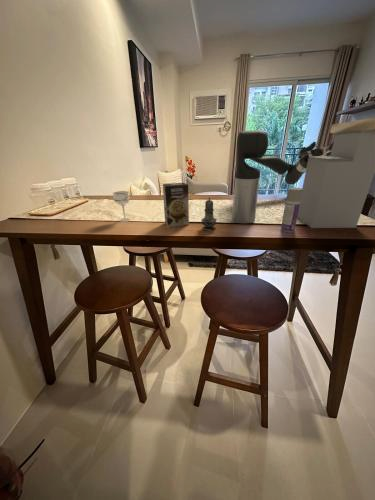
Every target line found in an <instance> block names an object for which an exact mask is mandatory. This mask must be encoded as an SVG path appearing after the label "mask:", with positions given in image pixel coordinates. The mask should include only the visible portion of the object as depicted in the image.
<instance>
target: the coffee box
mask: <svg viewBox="0 0 375 500" xmlns="http://www.w3.org/2000/svg"><path fill="white" fill-rule="evenodd" d="M162 193H163V196H162V197H163V209H164V212H163V213H164V223H165V225H166V227H168V228H173V227H182V226H189V225H190V209H189V205H190V204H189V184H188V183H185V182H172V183H170V182H169V183H162Z"/></svg>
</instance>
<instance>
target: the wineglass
mask: <svg viewBox="0 0 375 500" xmlns="http://www.w3.org/2000/svg"><path fill="white" fill-rule="evenodd" d="M112 195H113V201H114V203H116V204H117V205H119V206H121V207H122V212H123V218H121V220H120V219H119V220H120V221H119V222H122V223H123V222H129V221H131V220H130V219H131V218H130V217H126V212H125V205H126V204H128V203H129V201H130V198H131V197H130V194H129V191H127V190H123V191H122V190H120V191H115V192H112ZM129 218H130V219H129Z"/></svg>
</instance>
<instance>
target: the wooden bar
mask: <svg viewBox="0 0 375 500" xmlns="http://www.w3.org/2000/svg"><path fill="white" fill-rule="evenodd" d="M370 129H375V117H372V118H371V117H370V118H365V119H364V118H363V119H359V120H351V121H345V122H338V123H333V124H331V127H330V132H329V133H330V134H336V132H344V131H354V130H370Z"/></svg>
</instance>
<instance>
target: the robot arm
mask: <svg viewBox="0 0 375 500" xmlns="http://www.w3.org/2000/svg"><path fill="white" fill-rule="evenodd" d="M333 144H334V141H332V142H331V143H330V144H329V146H323V147H321V148H316V146H317V142H316V141H313V142H311V143H310V144H309V145H307V147H306V146H303V147H302V148H301V149H300V151H299V152H298V154H297V155H298V160H297V161H296V162H295V163H294V164H293V163H289V162H287V161H285V160H284V159H282V158H280V157H278V156H275V155H274V156H273V155H272V156H265V154H266V153H267V150H268V148H269V136H268V133H267V131H265V130H260V129H259V130H258V129H257V130H242V131H240V132H239V133H238V135H237V139H236V160H235V161H236V164H235V175H234V177H235V178H234V190H233V191H234V192H233V197H232V204H231V205H232V207H231V209H232V211H231V220H232V222H233V223H238V224H251V223H254V222H255V220H256V214H257V203H258V198H259V197H258V194H259V188H260V187H259V186H260V179H261V178H260V177H261V170H260V169H258V168H257V167H253V166H250V165H249V164H248V163H247V162H246V159H249V160H251V161H252V162H254V163H257V164H259V165H262V166H264V167H266V168H268V169H270V170H271V171H273V172H274V173H276V174H278V175H280V176H281V175H285V174H286V175H285V177H284V182H285V184H287V185H295V184H296V183H298V182H299V180H300V179H301V178H302V177H303V175H305V173H306V168H307V163H308V158H309V157H313V156H331V152H332V148H333Z"/></svg>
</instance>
